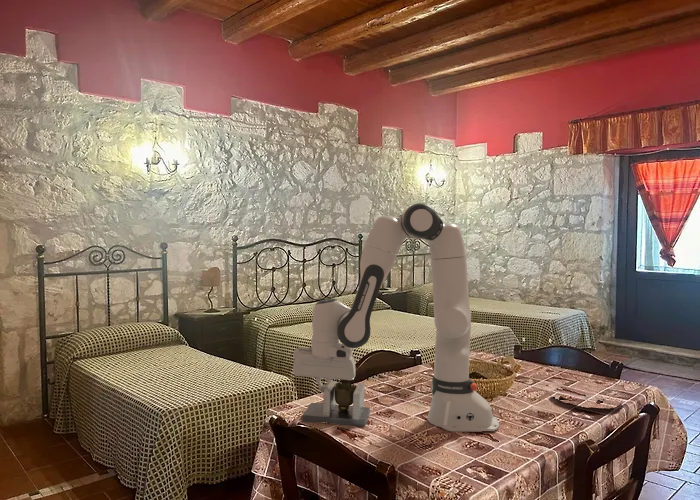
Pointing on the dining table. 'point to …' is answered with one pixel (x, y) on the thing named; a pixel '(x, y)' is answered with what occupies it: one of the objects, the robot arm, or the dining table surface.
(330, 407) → the sliding jaw
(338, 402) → the cup
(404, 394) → the dining table surface
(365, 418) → the vise
